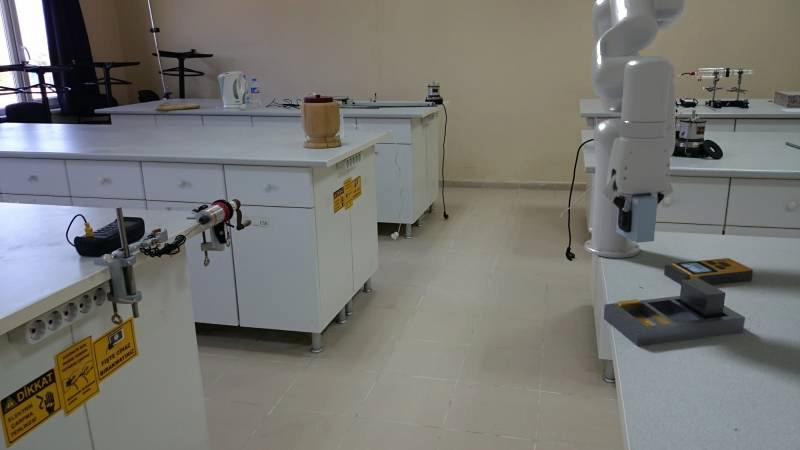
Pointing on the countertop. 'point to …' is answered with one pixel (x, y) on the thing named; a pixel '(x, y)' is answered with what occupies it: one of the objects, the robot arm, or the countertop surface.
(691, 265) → the electronic device
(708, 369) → the countertop surface
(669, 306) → the rack
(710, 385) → the countertop surface
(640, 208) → the light blue block
